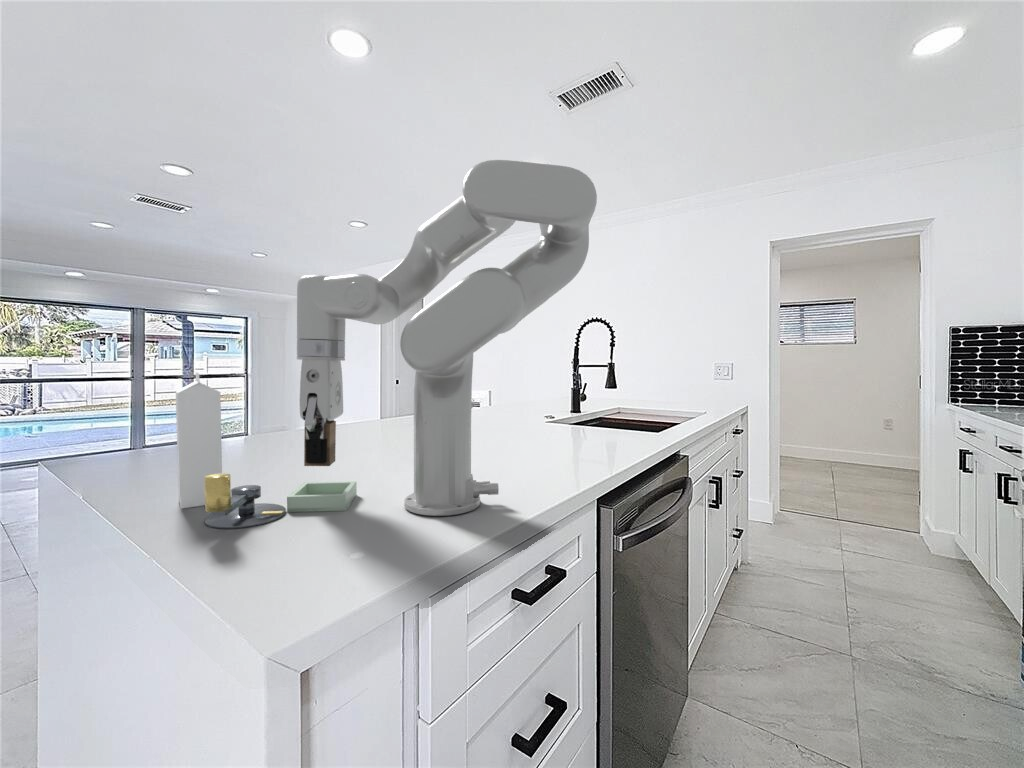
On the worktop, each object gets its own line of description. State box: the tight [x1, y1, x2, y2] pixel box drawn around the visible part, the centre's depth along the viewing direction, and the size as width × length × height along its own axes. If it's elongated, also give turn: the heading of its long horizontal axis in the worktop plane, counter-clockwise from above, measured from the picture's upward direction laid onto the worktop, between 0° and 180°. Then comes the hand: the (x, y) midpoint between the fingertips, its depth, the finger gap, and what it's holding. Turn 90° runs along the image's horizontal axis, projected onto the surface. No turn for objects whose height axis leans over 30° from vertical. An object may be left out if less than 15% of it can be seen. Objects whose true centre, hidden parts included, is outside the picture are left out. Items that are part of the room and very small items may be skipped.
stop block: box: [303, 420, 337, 467], centre depth 82 cm, size 4×4×7 cm
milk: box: [175, 371, 223, 510], centre depth 82 cm, size 6×6×22 cm
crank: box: [204, 473, 262, 516], centre depth 71 cm, size 12×4×6 cm, turn 7°
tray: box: [286, 480, 358, 513], centre depth 83 cm, size 9×9×2 cm
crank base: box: [204, 499, 287, 530], centre depth 75 cm, size 11×11×3 cm
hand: (320, 458), depth 82 cm, fingers closed on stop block, 4 cm apart
